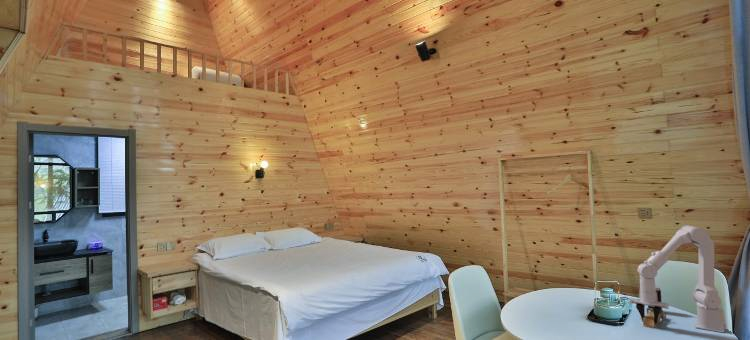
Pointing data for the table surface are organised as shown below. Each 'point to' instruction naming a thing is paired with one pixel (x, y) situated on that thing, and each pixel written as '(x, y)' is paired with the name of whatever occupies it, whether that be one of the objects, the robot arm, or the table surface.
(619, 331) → the table surface
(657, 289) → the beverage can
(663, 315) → the dispenser
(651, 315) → the orange brown rectangular block
